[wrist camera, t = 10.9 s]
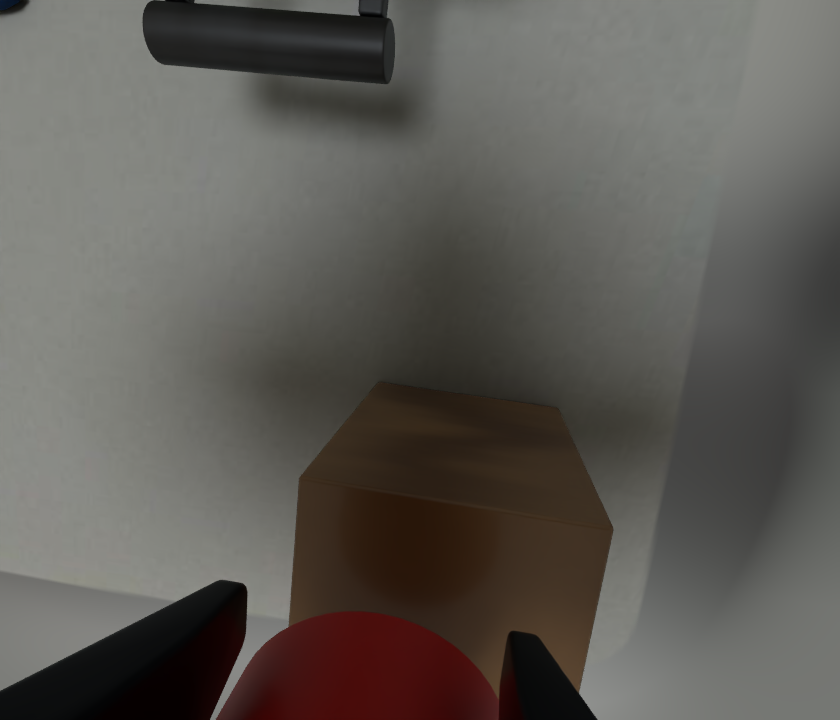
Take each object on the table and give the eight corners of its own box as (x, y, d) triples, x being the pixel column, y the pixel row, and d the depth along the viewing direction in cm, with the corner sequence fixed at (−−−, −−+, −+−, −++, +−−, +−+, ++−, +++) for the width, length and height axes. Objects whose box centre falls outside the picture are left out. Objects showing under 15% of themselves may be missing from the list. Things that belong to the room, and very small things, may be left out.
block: (559, 407, 20) (615, 528, 11) (529, 571, 22) (559, 790, 13) (377, 381, 21) (298, 476, 12) (361, 542, 22) (279, 731, 13)
